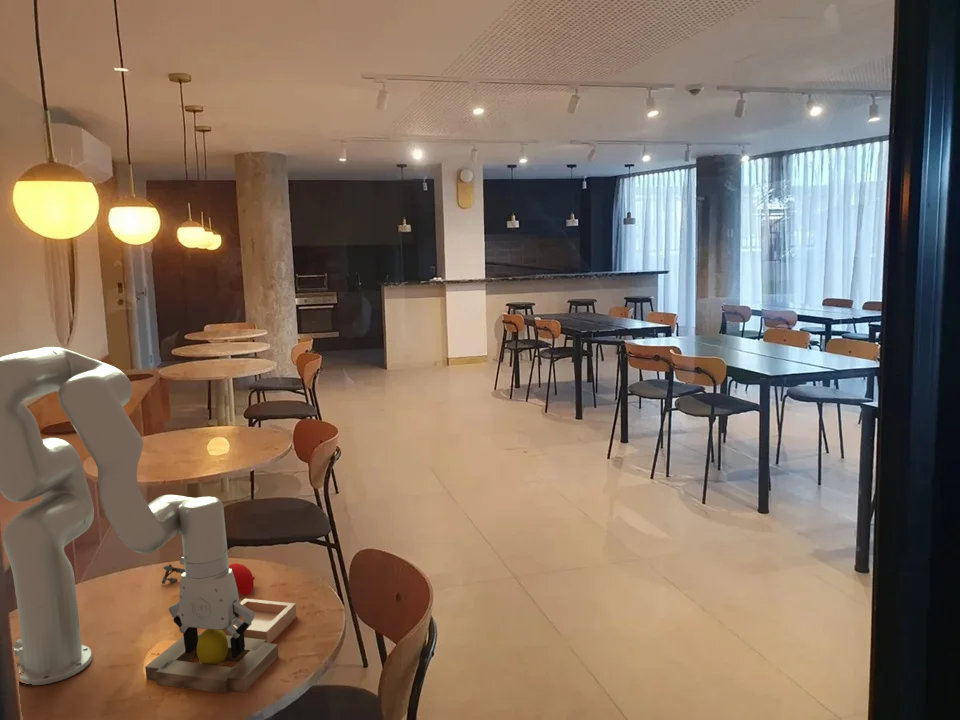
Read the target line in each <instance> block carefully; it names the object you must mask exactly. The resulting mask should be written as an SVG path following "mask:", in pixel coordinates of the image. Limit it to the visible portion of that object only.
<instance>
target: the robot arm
mask: <svg viewBox="0 0 960 720" xmlns="http://www.w3.org/2000/svg"><path fill="white" fill-rule="evenodd" d="M132 386H133V385H132V383H131V380H130V379H129V377H128V376H127V375H126V374H125V372H123V371H122V370H121V369H119V368H117V367H115V366H114V365H111V364H108V363H105V362H102V361H100V360H99V359H98V360H97V359H95V358H91V357H89V356H86V355H83V354H80V353H78V352H75V351H73V350H69V349H66V348H63V347H57V346H45V347H40V348H34V349H29V350H24V351H19V352H14V353H10V354H6V355H3V356H0V494H1V496H3V497H4V498H5V499H6V500H8V501H10V502H13V503H24V502H28V501H31V500H34V499H36V498H38V497H40V498H41V501H37V502H36V503H33V504H32V505H30V506H29V507H27V508H25V509H23V510H21V511H20V512H18V513H17V514H16V515H14V516H13V517H12V518H11V519H10V520H9V521H8V523H7V524H6V526H5V528H4V530H3V534H2V541H3V542H2V544H3V547H4V551H5V553H6V556H7V559H8V562H9V564H10V568H11V571H12V572H11V573H12V578H13V584H14V591H15V598H16V605H17V606H16V607H17V614H18V622H19V623H18V624H19V631H20V638H19V639H17V640H16V641H14V644H13V645H14V646H13V648H14V651H15V656H14V657H19V658H18V659H19V664H18V665H17V666H18V667H19V673H20V674H21V669H20V666H21V668H22V673H24V674H22V676H21V675H20V679H21V680H23V681H24V682H25V683H29V684H32V685H31V686H43V685H50V684H53V683H57V682H60V681H63V680H66V679H68V678H71V677H72V676H74V675H77V674H78V673H80V672H81V671H83V670H85V668H86V667H88V665H89V664H90V663H91V662H92V661H93V652H92V649H91V648H90V647H89V646H87V645H84V644H82V637H81V626H80V617H79V607H78V600H77V589H76V588H77V587H76V579H75V573H74V572H75V571H74V569H73V566H72V563H71V562H70V560H69V557H68V556H67V555H66V553H65V547H66V546H67V545H69V544H70V543H71V542H73V541H74V540H75V539H77V538H79V537H80V536H81V535H83V534H85V532H87V530H88V529H89V528H90V527H91V525H92V524H93V522H94V516H95V515H94V514H95V511H94V510H95V509H94V503H93V499H92V495H91V490H90V487H89V484H88V480H87V476H86V473H85V469H84V465H83V462H82V459H81V457H80V454H79V452H78V451H77V450H76V449H75V447H74V446H73V445H72V444H71V443H70V442H68V441H67V440H65V439H62V438H58V437H45V438H42V436H41V432H40V427H39V423H38V422H37V419H36V417H35V416H34V414H33V412H32V411H31V410H30V409H29V408H28V407H27V406H26V405H25V402H26V401H28V400H31V399H34V398H37V397H40V396H41V397H42V396H44V395H48V394H51V393H55V392H57V399H58V403H59V405H60V408H61V409H62V411H63V413H64V414H65V415H66V417H67V419H68V420H69V422H70V424H71V425H72V427H73V428H74V431H75V432H76V433H77V435H78V437H79V438H80V440H81V441H82V443H83V445H84V446H85V448H86V449H87V451H88V452H89V454H90V456H91V458H92V459H93V461H94V463H95V464H96V467H97V485H98V491H99V493H98V494H99V499H100V503H101V507H102V510H103V513H104V515H105V517H106V518H107V520H108V522H109V523H110V526H111V527H112V528H113V530H114V531H115V533H116V534H117V536H118V537H119V539H120V541H122V543H123V544H124V545H125V546H126V547H128V548H129V549H130V550H132V551H133V552H135V553H139V554H151V553H154V552H156V551H157V550H160V548H162V547H163V546H164V545H166V544H167V543H168V542H169V541H170V540H171V539H173V538H174V537H177V536H179V535H181V544H182V552H183V553H182V554H183V556H182V557H180V559H179V564H180V565H183V566H184V569H185V572H184V573H181V578H180V582H179V583H180V584H179V597H178V598H179V600H178V602H176V603H174V604H172V605H171V606H170V607H168V611H169V613H170V616H171V617H172V618H173V622H174V624H176V625H177V627H178V628H179V632H180V633H182V634H183V635H182V636H184V645H185V652H186V653H190V652H192V651H193V650H194V649H195V648H196V647H197V643H198V635H199V634H198V633H199V631H198V629H202V630H203V629H204V630H207V629H211V630H225V629H227V630H228V631H229V632H230V633H231V634H232V636H233V637H232V638H231V639H230V642H231V653H232V657H233V658H237V657H238V656H239V655H240V654H241V653H242V652H243V651H244V648H245V641H244V631H245V630H246V629H247V628H248V627H249V626H250V625H251V623H252V620H253V618H254V616H255V612H254V611H252V610H250V609H249V608H247V607H245V606H244V605H242V604H240V596H239V591H238V588H237V586H236V581H235V578H234V575H233V572H232V569H229V565H230V564H229V555H228V543H227V542H228V541H227V531H226V521H225V511H224V510H225V509H224V504H223V502H222V500H221V499H220V498H218V497H217V496H210V495H209V496H198V497H191V496H185V495H178V494H164V495H160V496H158V497H156V498H155V499H154V500H152V501H151V502H149V503H147V501H146V499H145V498H144V496H143V494H142V492H141V490H140V486H139V482H138V466H139V462H140V458H141V455H142V451H143V448H144V440H143V438H142V436H141V434H140V432H139V431H138V430H137V428H136V427H135V425H134V423H133V422H132V420H131V418H130V417H129V415H128V414H127V412H126V411H125V409H124V407H125V406H126V405H127V404H128V403H129V402H130V400H131V398H132V395H133V387H132ZM240 615H241V616H242V617H243V618H244V620H243V622H242V621H241V620H240V619H239V617H240ZM232 623H234V624H235V625H236V627H237V628H238V629H236V628H235V626H234V625H233V624H232Z"/></svg>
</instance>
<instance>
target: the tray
mask: <svg viewBox="0 0 960 720" xmlns="http://www.w3.org/2000/svg"><path fill="white" fill-rule="evenodd" d="M239 603H240V604H242V605H244V606H245V607H247V608H249V609H250V610H252V611H254V612H255V616H254V618H253V620H252V623H251V625H250V626H249V627H248V628H247V629H246V630H245V631H244V637H245V638H254V639H263V640H266V643H272V642H273V641H275V639H277V637H278V636H279V635H280V634H282V632H283V631H284V630H285V629H286V628H288V626H289V625H290V624H291V623H292V622H293V621H294V620H295V619H296V618H297V604H296V603H294V602H285V601H273V600H265V599H263V600H262V599H255V598H254V599H253V598H243V600H241V601H239ZM239 619H240V620H241V621H242V622H243V620H244V618H243V617H242V616H241V615H240V617H239ZM232 624H233V625H234V626H235V628H236V629H238V628H237V627H236V625H235V624H234V623H232ZM222 631H223V632H224V633H225V635H228V636H232V634H231V633H230V632H229V631H228V630H227V629H225V630H222Z"/></svg>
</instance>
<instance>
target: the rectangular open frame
mask: <svg viewBox="0 0 960 720" xmlns="http://www.w3.org/2000/svg"><path fill="white" fill-rule="evenodd" d="M202 633H203V632H201V633H200V634H198V639H199V637H200V635H201V634H202ZM226 637H227V641H228V653H227V656H226V658H225V660H230V661H238V662H237V663H236V664H234V666H232V667H231V666H225V665H224V666H223V665H209V664H202V663H201V662H200V663H199V662H192V661H191V660H193V658H194V657H196V656H197V647H196V648H195V649H194V650H193V651H192V652H190V653H186V652H185V645H184V636H183V635H182V636H181V637H180V638H179V639H178V640H176V641H175V642H174V643H172V644H171V645H170V646H168V648H167V649H165V650H164V651H162V653H161V654H159V655H158V656H157V657H155V658H154V659H153V660H151V662H149V663H148V664H147V665H146V666H144V667H145V677H146V680H149V681H156V685H158V686H167V687H174V688H181V689H188V690H195V691H197V690H198V691H203V692H204V691H205V692H211V693H216V694H217V693H219V694H225V695H226V694H228V692H239V693H246V692H247V690H248V689H250V687H251V686H253V684H255V682H256V681H257V680H259V678H260V677H261V676H262V675H263V674H264V672H266V670H267V669H268V668H269V667H270V666H271V665H272V664H273V663H274V662H275V661H276V659H278V657H279V644H278V643H272V642H271V643H266V640H263V639H254V638H245V637H244V641H245V648H244V651H243V652H242V653H241V654H240V655H239V656H238V657H237V658H233V657H232V653H231V642H230V639H231V638H232V637H233V636H228V635H226ZM197 657H198V656H197Z"/></svg>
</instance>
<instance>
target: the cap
mask: <svg viewBox="0 0 960 720" xmlns="http://www.w3.org/2000/svg"><path fill="white" fill-rule="evenodd" d="M229 569H232V572H233V575H234V578H235V581H236V586H237V590H238V593H240V594H241V595H242V596H245V595H246V596H249V595H250V594H251V593H252V592H253V589H254V580H255V579H256V578H255V576H253V573H252V572H251V570H250V569H249V568H248V567H247V566H245V565H243V564H240V563H231V564H229ZM248 594H249V595H248Z"/></svg>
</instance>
